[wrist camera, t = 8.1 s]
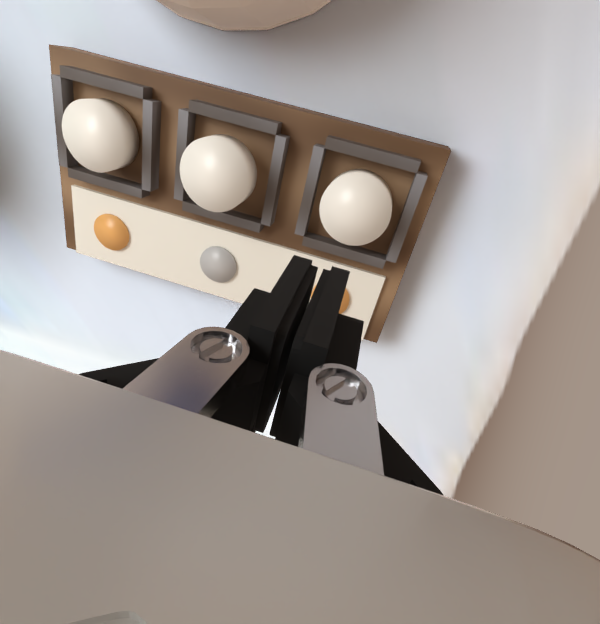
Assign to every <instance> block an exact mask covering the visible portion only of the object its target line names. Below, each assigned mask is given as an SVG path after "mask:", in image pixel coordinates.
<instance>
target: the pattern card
mask: <svg viewBox="0 0 600 624" xmlns="http://www.w3.org/2000/svg"><path fill="white" fill-rule="evenodd" d="M71 189H72V202H73V215H74V228H75V241H76V252H77V253H80V254H83V255H87V256H90V257H93V258H96V259H100V260H103V261H106V262H109V263H113V264H116V265H119V266H122V267H125V268H129V269H132V270H135V271H138V272H142V273H145V274H148V275H151V276H155V277H158V278H161V279H164V280H168V281H171V282H174V283H177V284H180V285H184V286H187V287H190V288H193V289H197V290H200V291H203V292H206V293H210V294H213V295H216V296H219V297H223V298H226V299H229V300H232V301H235V302H239V303H242V304H243V303H244V301H245V300H246V299H247V297H248V296H249V294H250V293H251V292H252V290H253V289H254V288H256V289H259V290H263V291H266V292H269V293H270V292H271V291H272V289H273V288H274V286H275V284H276V283H277V281H278V280H279V278H280V276H281V275H282V273H283V272H284V270H285V268H286V267H287V265H288V264H289V262H290V260H291V259H292V257H293V256H294V255H296V256H300V257H303V258H306V259H310V260H312V265H313V266H316V267H318V270H317V274H316V278H315V282H314V285H313V289H312V293H311V297H312V295H313V292H314V290H315V288H316V285H317V283H318V281H319V278H320V276H321V273H322V271H323V269H326V270H331V268H332V266H334V267H337V268H341V269H344V270H347V271H350V274H349V278H348V281H347V285H346V288H345V292H344V295H343V299H342V303H341V306H340V310H339V314H342V315H346V316H349V317H352V318H356V319H359V320H362V321H364V325H363V331H362V337H361V340H362V341H363V338H364V336H365V333H366V330H367V327H368V325H369V322H370V319H371V316H372V314H373V311H374V308H375V305H376V303H377V300H378V297H379V294H380V292H381V289H382V286H383V283H384V281H385V278H386V276H384V275H380V274H377V273H373V272H370V271H367V270H363V269H360V268H356V267H353V266H350V265H346V264H343V263H339V262H336V261H333V260H329V259H326V258H322V257H319V256H316V255H312V254H309V253H305V252H302V251H299V250H295V249H292V248H288V247H285V246H282V245H278V244H275V243H271V242H268V241H265V240H261V239H258V238H254V237H251V236H248V235H244V234H241V233H237V232H234V231H231V230H227V229H224V228H220V227H217V226H214V225H210V224H207V223H203V222H200V221H197V220H193V219H190V218H186V217H183V216H180V215H176V214H173V213H169V212H166V211H163V210H159V209H156V208H152V207H149V206H146V205H142V204H139V203H135V202H132V201H129V200H125V199H122V198H118V197H115V196H112V195H108V194H105V193H101V192H98V191H95V190H91V189H88V188H84V187H81V186H78V185H71ZM311 297H310V299H311ZM309 302H310V301H309Z"/></svg>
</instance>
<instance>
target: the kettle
mask: <svg viewBox="0 0 600 624" xmlns="http://www.w3.org/2000/svg"><path fill="white" fill-rule="evenodd" d="M157 1H158V2H160V3H161V4H163V5H164V6H166V7H167V8H168V9H170V10H171V11H173V12H174V13H176V14H177V15H179V16H180V17H183V18H186V19H189V20H192V21H195V22H198V23H201V24H204V25H208V26H211V27H214V28H217V29H220V30H223V31H226V30H269V29H272V28H275V27H278V26H280V25H283V24H286V23H289V22H292V21H295V20H297V19H300V18H303V17H306V16H309V15H312V14H314V13H315V12H317V11H318V10H319V9H321V8H322V7H323V6H325V5H326V4H327V3H329V2H330V1H332V0H157Z"/></svg>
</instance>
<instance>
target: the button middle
mask: <svg viewBox="0 0 600 624" xmlns="http://www.w3.org/2000/svg"><path fill="white" fill-rule="evenodd" d="M180 177H181V181H182V184H183V187H184V189H185V191H186V192H187V194H188V195H189V197H190V198H191V199H192V200H193V201H194V202H195V203H196V204H197V205H199V206H200V207H202V208H204V209H206V210H208V211H212V212H225V211H229V210H231V209H233V208H235V207H236V206H237V205H239V204H240V203H242V202H243V201H245V200H246V199H247V198H248V197H249V196H250V195H251V193H252V192H253V190H254V188H255V185H256V180H257V169H256V164H255V161H254V158H253V156H252V154H251V152H250V151H249V149H248V148H247V147H246V146H245V145H244V144H243V143H242V142H241V141H240V140H238V139H237V138H235V137H232V136H230V135H225V134H215V135H211V136H207V137H203V138H199V139H197V140H195V141H193V142H192V143H191V144H189V145H188V147H187V148H186V149H185V151H184V152H183V155H182V157H181V161H180Z"/></svg>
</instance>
